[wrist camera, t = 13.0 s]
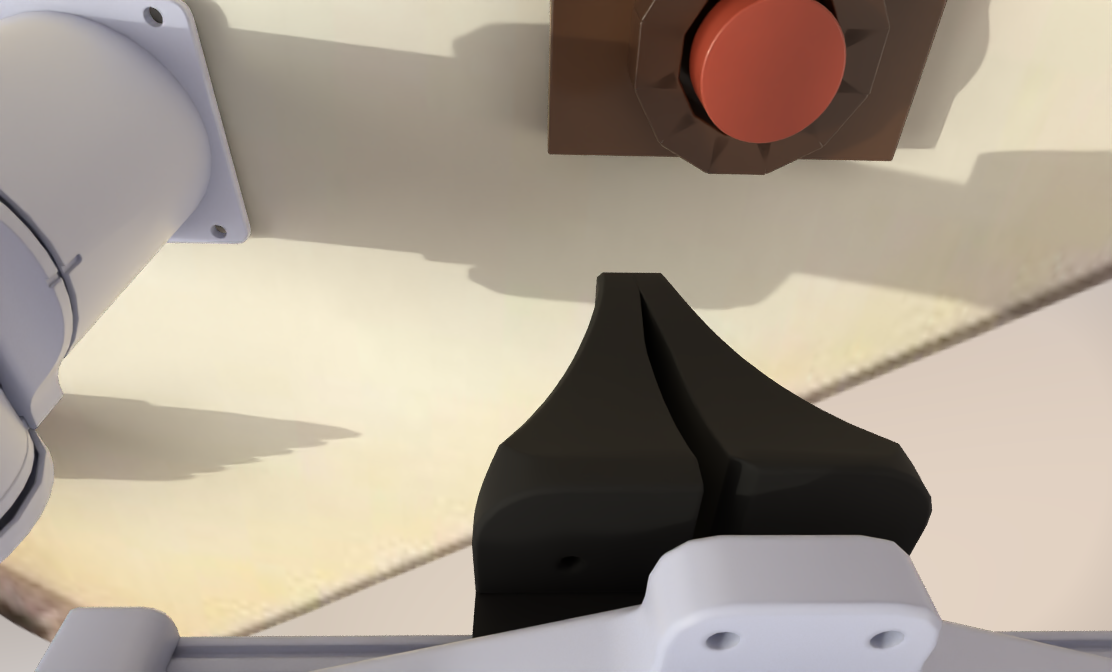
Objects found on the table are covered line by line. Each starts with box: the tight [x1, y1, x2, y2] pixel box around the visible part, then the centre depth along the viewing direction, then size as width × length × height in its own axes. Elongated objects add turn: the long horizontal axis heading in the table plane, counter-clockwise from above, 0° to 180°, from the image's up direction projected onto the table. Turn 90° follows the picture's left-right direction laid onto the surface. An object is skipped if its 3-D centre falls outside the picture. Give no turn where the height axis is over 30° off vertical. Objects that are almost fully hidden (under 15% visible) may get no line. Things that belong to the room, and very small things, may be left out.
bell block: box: [547, 0, 947, 175], centre depth 19 cm, size 11×7×4 cm, turn 88°
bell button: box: [689, 0, 846, 143], centre depth 18 cm, size 4×4×2 cm
